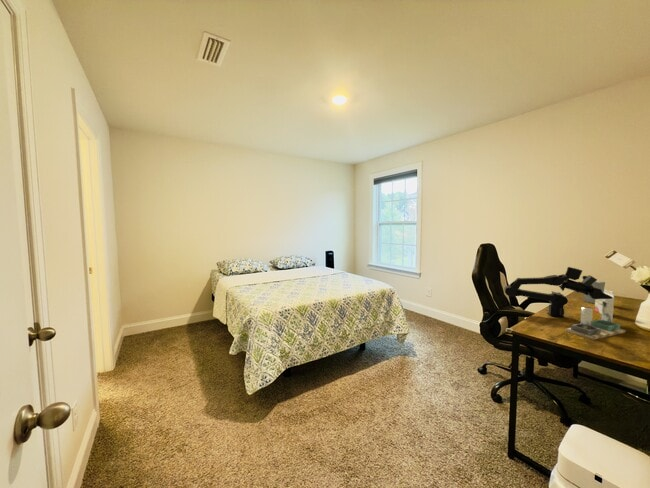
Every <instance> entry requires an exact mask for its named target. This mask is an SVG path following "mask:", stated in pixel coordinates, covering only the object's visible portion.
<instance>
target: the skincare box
mask: <svg viewBox="0 0 650 488" xmlns="http://www.w3.org/2000/svg"><path fill="white" fill-rule="evenodd" d="M592 286H593V287H596V288H599V289H601V290H602V292H603V293H604V289H605V286H606V282H605V281H600V280H597V281H596V282H594V283H593V284H592ZM582 300H583V302H585V303H589V304H590V303H591V304H594V305H595V299H593V298H591V297H590V296H589V294H588V295H585V294H583V299H582Z"/></svg>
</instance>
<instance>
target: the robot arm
mask: <svg viewBox="0 0 650 488" xmlns="http://www.w3.org/2000/svg"><path fill="white" fill-rule="evenodd" d="M582 274H583V270H582V269H579V268H575V267H571V266H567V268H566V271H565V274H559V275H557V274H553V275H546V276H542V277H517V278H516V279H515V280H513V281H512V282H511V283H509V285H506V286H505V287H504V293H505V295H506V296H508V297H520V296H521V297H525V298H531V299H537V300H541V301H542V300H543V301H548V302H549V304H548V312H547V315H549V316H550V317H555V318H565V309H564V307H565V305H567V304H568V302H569V300H568V298H567V297H566V296H565V295H564V294H562V293H561V292H559V291H558V292H555V291H551V293H546V292H539V291H533V290H529V289H528V290H527V289H521V286H522V285H523V286H524V285H548V286H555V287H558V288H560V290H561V291H562V292H563V291H564V290H570V291H573V292H575V293H578V294H580V293H581V294H583V295H584V294H585V295H588V294H589V296H590V297H591V298H593V299H612V297H611V296H609V295H607V294H605V293H603V292H602V290H601V289H599V288H596V287H593V286H592V284H593V283H594V282H596V281H598V278H595V277H594V276H592V275H590V274H589V275H583V276H581V275H582ZM580 278H582V281H577V280H580Z"/></svg>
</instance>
